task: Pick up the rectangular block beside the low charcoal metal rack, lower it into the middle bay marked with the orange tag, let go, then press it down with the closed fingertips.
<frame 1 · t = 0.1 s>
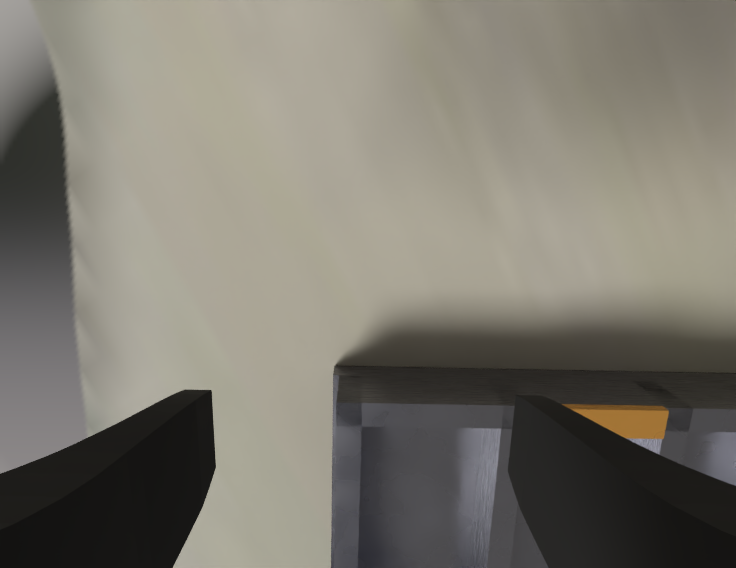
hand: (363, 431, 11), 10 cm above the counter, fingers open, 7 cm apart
rack: (546, 483, 23), on the counter
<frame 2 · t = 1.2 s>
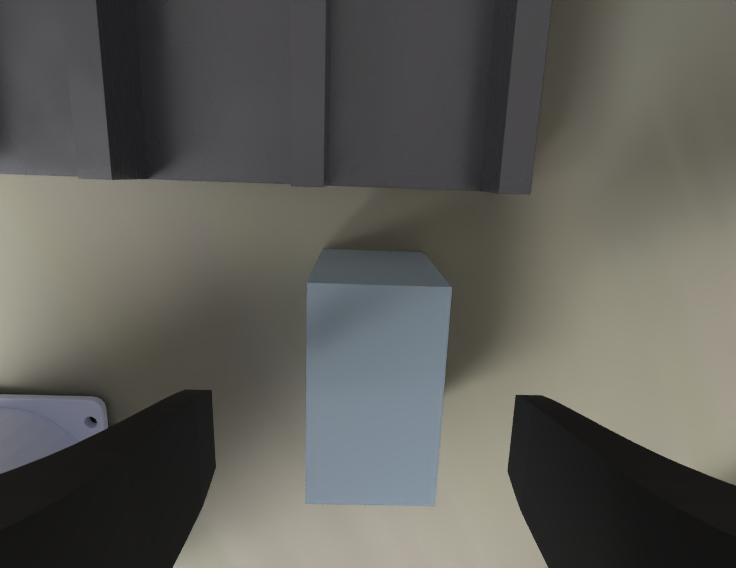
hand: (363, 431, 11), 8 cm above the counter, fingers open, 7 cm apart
rectangular block: (369, 332, 19), on the counter
rack: (226, 7, 16), on the counter
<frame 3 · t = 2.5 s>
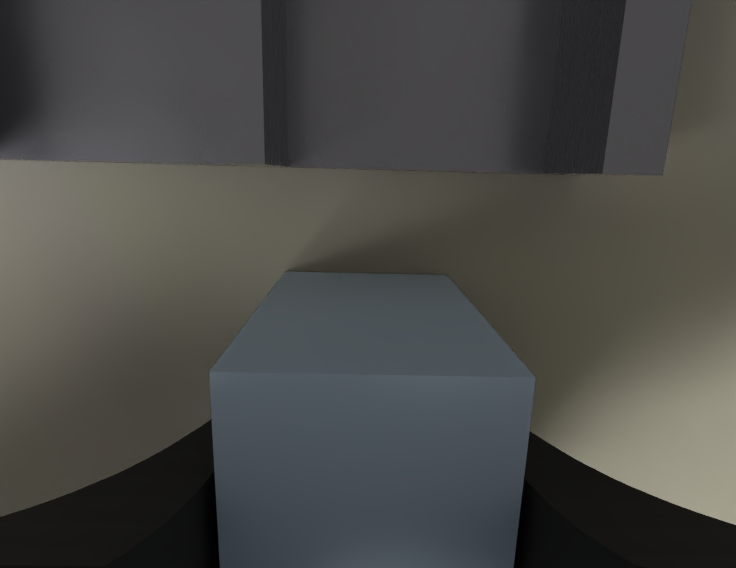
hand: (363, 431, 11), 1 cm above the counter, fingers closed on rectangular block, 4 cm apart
rectangular block: (363, 402, 12), on the counter, touching gripper
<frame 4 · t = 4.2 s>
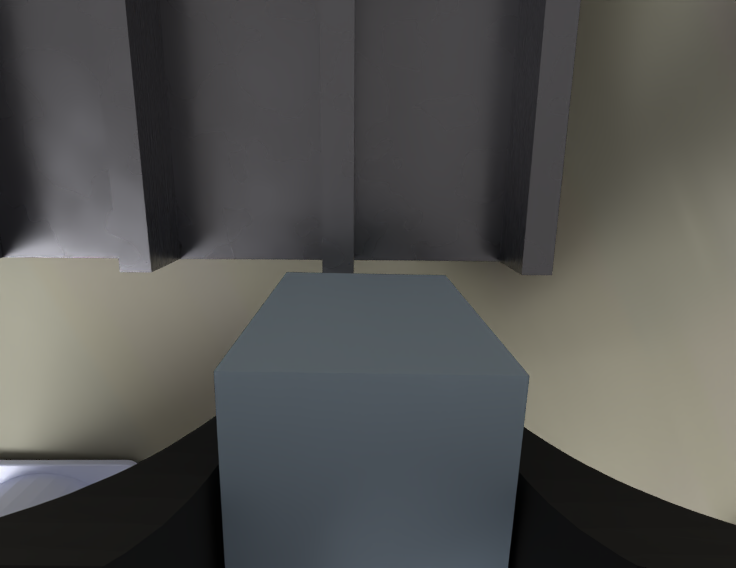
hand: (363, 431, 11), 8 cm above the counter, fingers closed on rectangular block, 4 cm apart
rectangular block: (363, 400, 13), point 7 cm above the counter, touching gripper
rack: (253, 93, 17), on the counter
when the fingers open (4 cm above the counter, at t = 5.9 s): rectangular block drops 2 cm, resting on rack.
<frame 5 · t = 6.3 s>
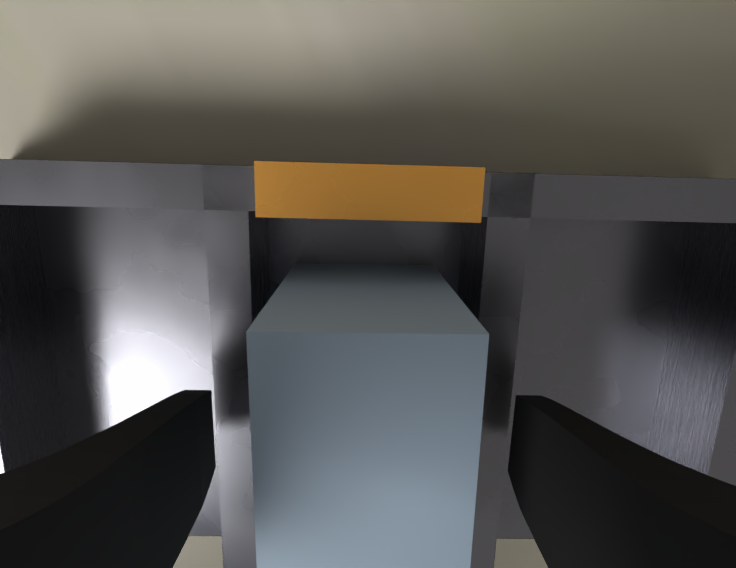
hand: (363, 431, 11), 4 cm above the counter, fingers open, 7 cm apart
rectangular block: (362, 376, 14), point 1 cm above the counter, touching rack
rack: (362, 358, 15), on the counter
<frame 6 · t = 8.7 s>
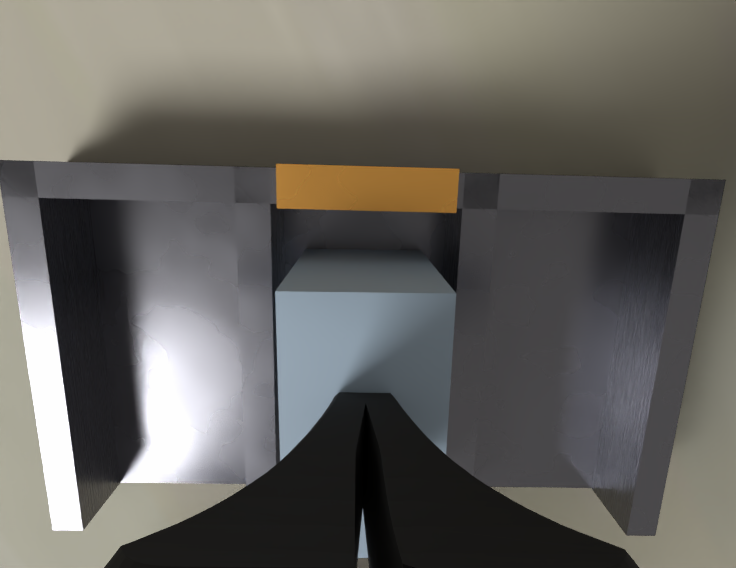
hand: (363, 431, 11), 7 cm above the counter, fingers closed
rectangular block: (362, 344, 17), point 1 cm above the counter, touching rack
rack: (362, 331, 18), on the counter
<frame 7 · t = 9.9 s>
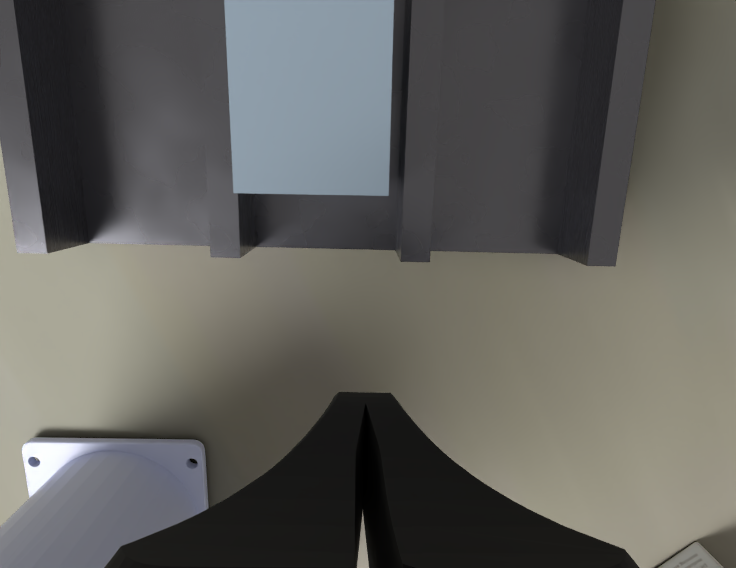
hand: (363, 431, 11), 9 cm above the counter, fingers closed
rectangular block: (326, 90, 17), point 1 cm above the counter, touching rack
rack: (328, 90, 18), on the counter
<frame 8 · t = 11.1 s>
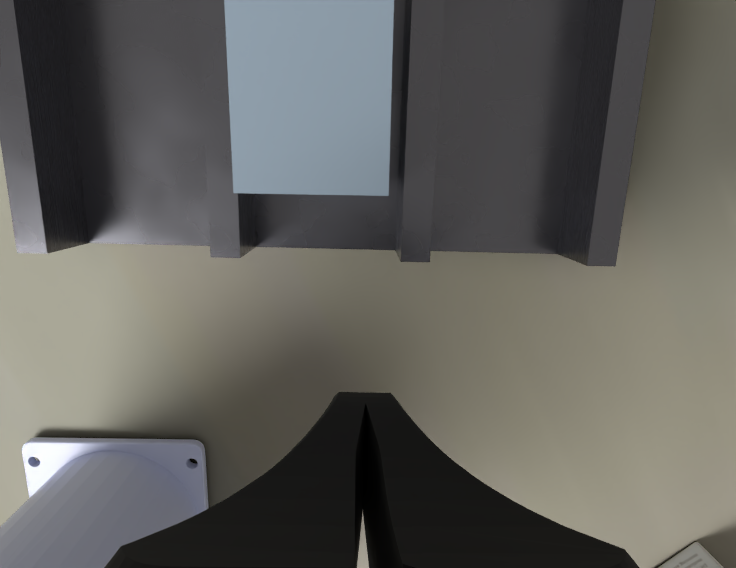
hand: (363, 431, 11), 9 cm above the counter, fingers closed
rectangular block: (326, 90, 17), point 1 cm above the counter, touching rack
rack: (328, 90, 18), on the counter
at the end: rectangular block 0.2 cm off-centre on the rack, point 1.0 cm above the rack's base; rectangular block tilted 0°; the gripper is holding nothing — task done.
